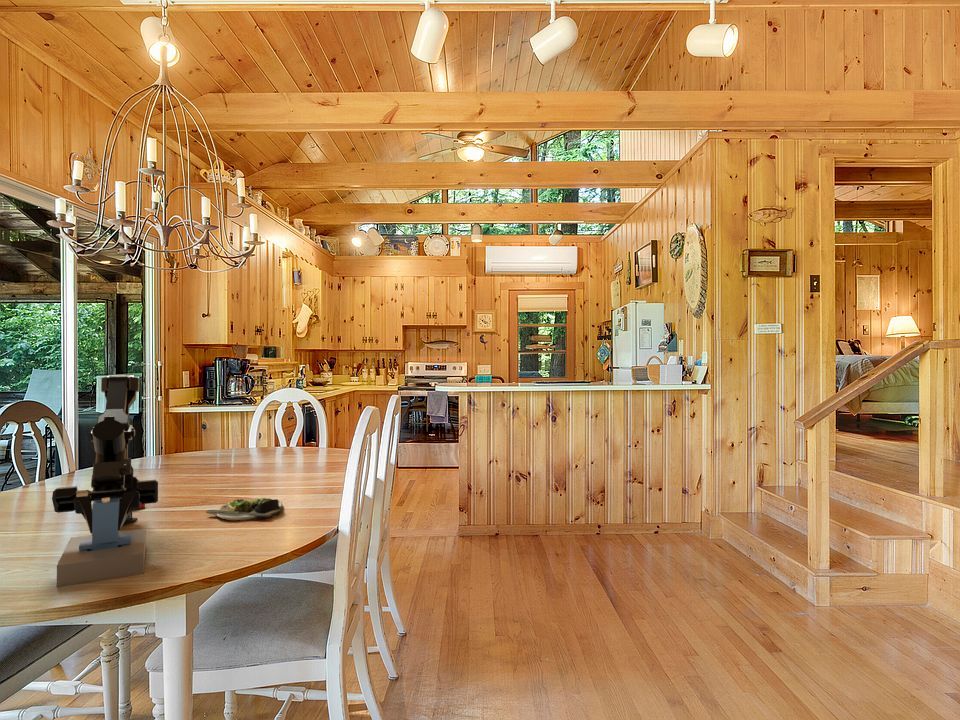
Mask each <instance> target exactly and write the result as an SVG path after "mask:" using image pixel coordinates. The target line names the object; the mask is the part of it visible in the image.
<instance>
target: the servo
mask: <svg viewBox="0 0 960 720" xmlns="http://www.w3.org/2000/svg"><path fill="white" fill-rule="evenodd" d="M91 504H92V534H91V535H92V540H85V541H81V543H80V545H79V550H84V549H92V551H94V550H101V549H109V548H116V547H119V545H123V544H130V542H131V535H125V536H119V532H120V530H119V531H118V519H119V498H113V499H110V497H105V498H102V500H94V501H92V503H91Z"/></svg>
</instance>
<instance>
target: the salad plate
mask: <svg viewBox="0 0 960 720" xmlns="http://www.w3.org/2000/svg"><path fill="white" fill-rule="evenodd" d="M282 509H283V502H282V501H281V500H279V499H277V498H276V499H272V498H270V497H269V498H267V497H266V498H265V497H260V498H255V499H253V500H250V501H248V500H246V499H243V498H240V499H236V498H235V499H233V500H232V501H231V502H228V503H227V502H226V503H225V504H222V505H221V506H220V507H219V509H208V510H206V511H205V513H206V514H208V515H213V516H216V517H217V518H221V519H223V520H225V519H226V521H231V522H232V521H235V522H236V521H237V520H240V521H252V520H251V519H257V520H264V519H263V518H267V519H270V518H269V517H271V518H274V517H273V516H275V515H277V516H279V515H280V514H281V512H282ZM278 514H279V515H278ZM275 517H276V516H275ZM237 522H238V521H237Z"/></svg>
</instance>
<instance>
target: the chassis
mask: <svg viewBox="0 0 960 720" xmlns="http://www.w3.org/2000/svg"><path fill="white" fill-rule="evenodd" d="M125 535H131V542H130V544H123V545H119V547H116V548H109V549H101V550H94V551H92V549H84V550H79V545H80V543H81V541H85V540H92V534H89V535H83V536H82V535H81V536H73V537H70V538H69V540H68V542H67V545H65V546H66V547H65V548H64V550H63V552H62V555H61V556H60V558H59V560H58V562H57V565H56V587H62V586H69V585H75V584H83V583H88V582H95V581H101V580H108V579H115V578H121V577H126V576H134V575H141V574H144V571H145V560H146V549H147V528H139V529H132V530H131V529H130V530H124V531H122V530H121V531H119V536H125Z"/></svg>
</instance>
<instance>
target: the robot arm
mask: <svg viewBox="0 0 960 720" xmlns="http://www.w3.org/2000/svg"><path fill="white" fill-rule="evenodd" d="M100 382H101V387H100V391H101V393H104V397H105V407H104V408H105V409H104V412H103V413H102V414H101V415H99V416H98V417H97V422H96V424H95V425H94V426H93V427H92V429H91V430H90V442H93V447H94V452H95V453H96V454H95V460H94V461H95V462H94V463H93V464H92V474H91V481H90V487H91V488H92V490H89V489H82V490H81V489H78V486H77V485H76V486H62V487H56V488H55V489H54V490H53V491H52V495H51V501H52V506H53V510H54V512H55V513H58V514H61V513H70V512H74V513H75V514H77V515H81V516H82V518H84V520H85V522H86V524H87V527H88V529H89V533H90V535H92V504H93V502H94V500H102V498H105V497H110V499H113V498H119V519H118V531H119V532H120V531H121V529H122V528H123V527H124V526H125V525H127V524H131V523H133V522H135V521H138V519H139V518H138V517H133V511H134V510H135V509H134V508H138V507H139V503H141V504H145V505H147V504H148V505H149V504H156V503H158V502H159V481H158V480H156V479H149V480H148V479H147V480H145V479H144V480H139V479H138V475H135V471H134V468H133V466H132V458H129V457H128V456H129V455H128V453H129V452H128V451H129V443H130V441H132V440H133V439H134V437H135V436H136V429H135V428H134V427H133V424H130V408H131V407H132V406H133V404H134V403H135V402H136V401H137V393H139V392H140V378H139V377H138V376H137V377H136V376H135V375H134V374H109V375H107V376H105V377H101V381H100Z"/></svg>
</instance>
